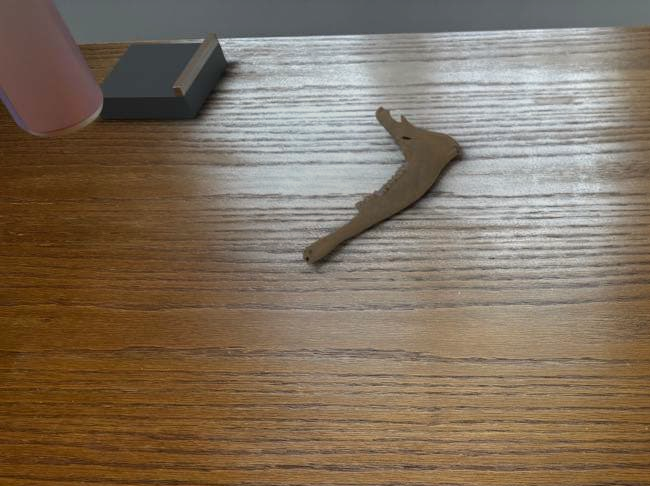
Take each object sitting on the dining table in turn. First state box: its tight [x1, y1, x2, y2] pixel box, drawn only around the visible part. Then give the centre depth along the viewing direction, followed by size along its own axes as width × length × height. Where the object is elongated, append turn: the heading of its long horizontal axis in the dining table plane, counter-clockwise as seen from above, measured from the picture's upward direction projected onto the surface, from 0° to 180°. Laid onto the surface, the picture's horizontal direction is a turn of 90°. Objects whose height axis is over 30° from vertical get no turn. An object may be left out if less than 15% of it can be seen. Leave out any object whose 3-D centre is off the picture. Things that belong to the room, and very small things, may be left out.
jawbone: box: [302, 106, 460, 266], centre depth 73 cm, size 9×20×2 cm, turn 168°
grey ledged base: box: [99, 32, 229, 120], centre depth 87 cm, size 10×10×4 cm
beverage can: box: [0, 0, 103, 138], centre depth 53 cm, size 6×6×15 cm
